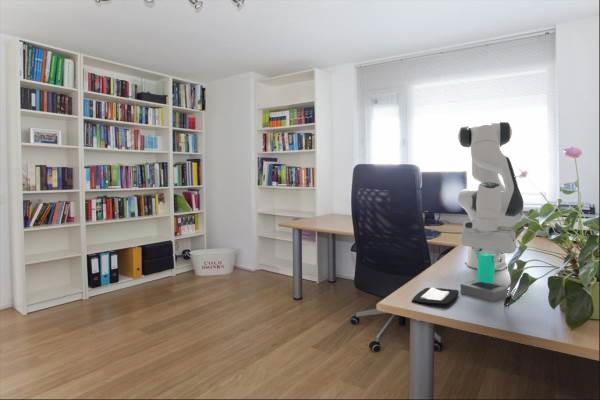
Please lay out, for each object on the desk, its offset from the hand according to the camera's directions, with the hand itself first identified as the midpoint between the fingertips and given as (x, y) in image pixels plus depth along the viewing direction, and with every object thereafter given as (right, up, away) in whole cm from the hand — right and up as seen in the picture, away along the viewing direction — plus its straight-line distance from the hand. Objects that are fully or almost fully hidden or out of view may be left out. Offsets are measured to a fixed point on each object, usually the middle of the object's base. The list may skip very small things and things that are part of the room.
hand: (486, 260), depth 146 cm
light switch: (-21, -14, -3) cm, 25 cm away
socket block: (0, -13, +1) cm, 13 cm away
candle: (0, -8, 0) cm, 8 cm away
